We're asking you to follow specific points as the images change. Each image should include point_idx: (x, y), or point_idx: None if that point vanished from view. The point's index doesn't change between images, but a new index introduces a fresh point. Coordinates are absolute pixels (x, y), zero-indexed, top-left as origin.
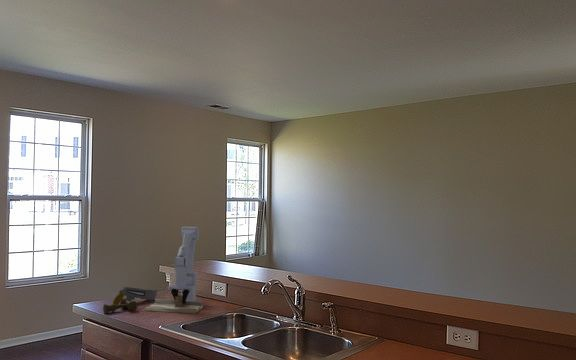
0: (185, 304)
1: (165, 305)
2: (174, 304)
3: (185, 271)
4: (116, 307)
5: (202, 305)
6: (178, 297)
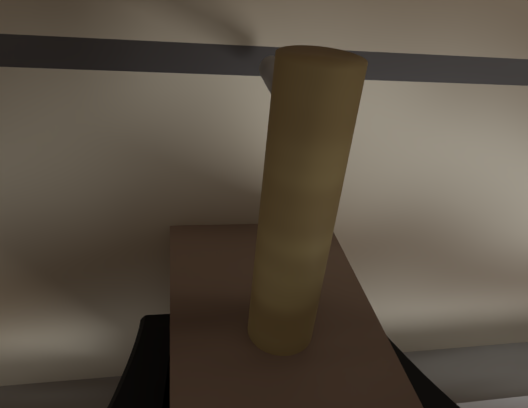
0: None
1: (516, 256)
2: None
3: None
4: None
5: None
6: (298, 405)
